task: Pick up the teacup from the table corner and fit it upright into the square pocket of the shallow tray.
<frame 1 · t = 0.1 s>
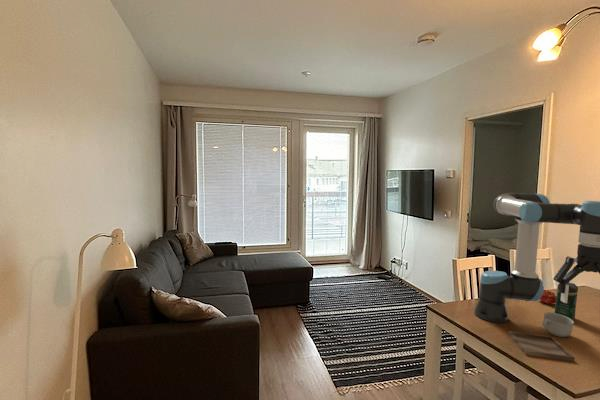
hand: (586, 304, 112), 28 cm above the table, tool pointing down, fingers open, 13 cm apart
teacup: (553, 334, 148), on the table
coffee jar: (564, 318, 166), on the table
dragon fruit: (547, 303, 185), on the table
shallow tray: (538, 347, 136), on the table
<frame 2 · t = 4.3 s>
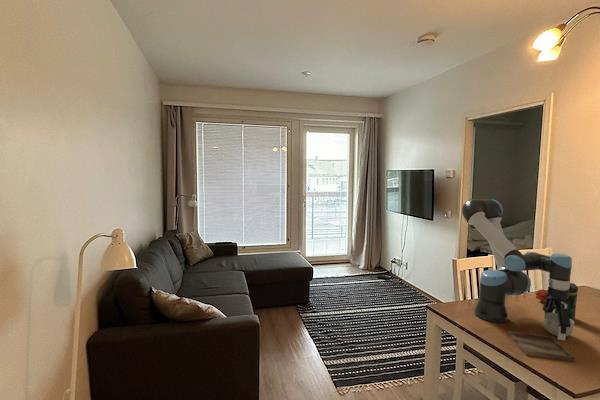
hand: (554, 333, 148), 0 cm above the table, tool pointing down, fingers open, 11 cm apart
teacup: (554, 334, 148), on the table, touching gripper
everything else where it was.
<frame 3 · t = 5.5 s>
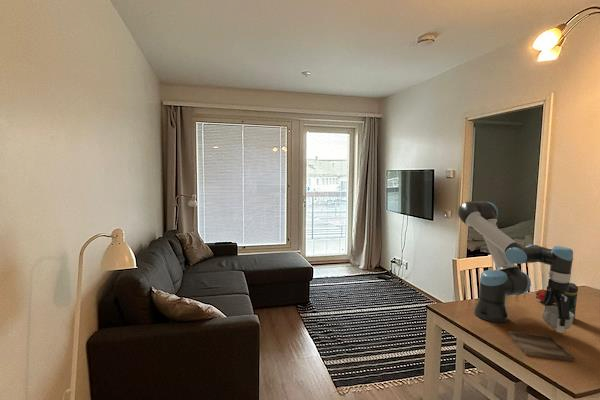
hand: (553, 325, 148), 3 cm above the table, tool pointing down, fingers closed on teacup, 11 cm apart
teacup: (553, 327, 148), point 3 cm above the table, touching gripper
everything else where it was.
when the fingers open (2 cm above the table, at t = 10.2 s): teacup drops 1 cm, resting on shallow tray.
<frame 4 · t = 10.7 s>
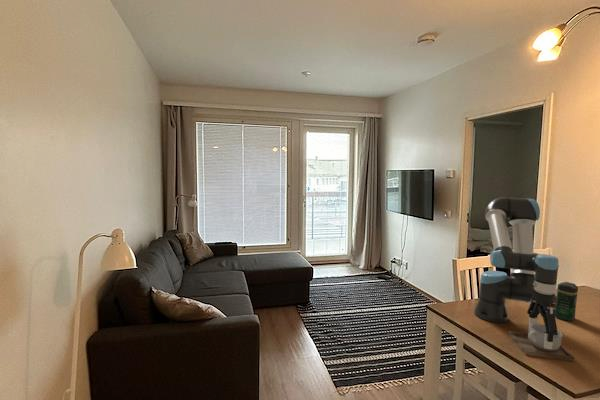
hand: (539, 340, 135), 3 cm above the table, tool pointing down, fingers open, 13 cm apart
teacup: (540, 348, 134), resting on shallow tray, touching gripper
everything else where it was.
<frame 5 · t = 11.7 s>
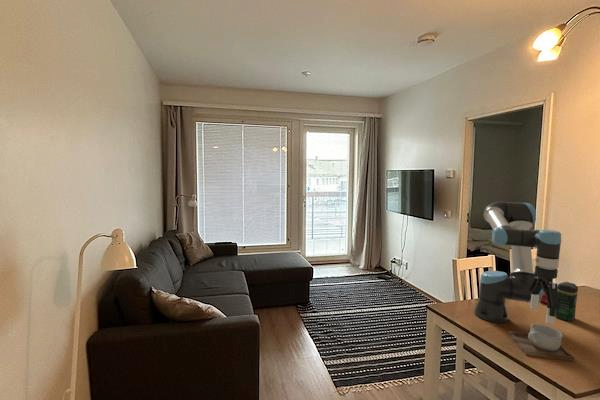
hand: (541, 315, 135), 14 cm above the table, tool pointing down, fingers open, 13 cm apart
teacup: (540, 348, 134), resting on shallow tray
everything else where it was.
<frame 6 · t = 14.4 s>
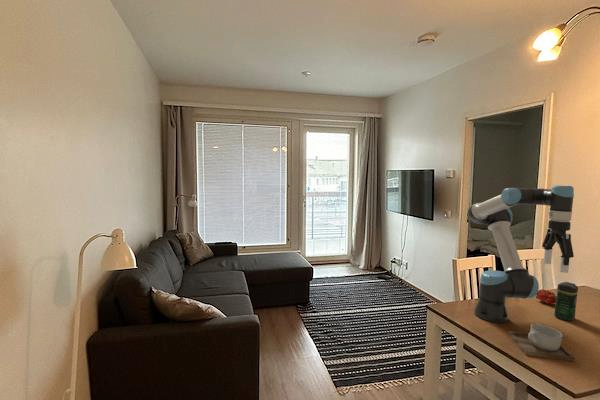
hand: (555, 267, 141), 33 cm above the table, tool pointing down, fingers open, 13 cm apart
nothing on the table moved.
at the end: teacup inside the target area on the shallow tray (1.5 cm from its centre), point 0.4 cm above the shallow tray's base; teacup tilted 0°; the gripper is holding nothing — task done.
